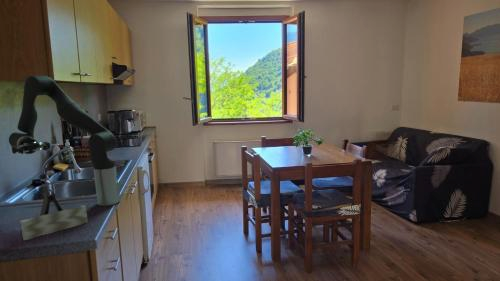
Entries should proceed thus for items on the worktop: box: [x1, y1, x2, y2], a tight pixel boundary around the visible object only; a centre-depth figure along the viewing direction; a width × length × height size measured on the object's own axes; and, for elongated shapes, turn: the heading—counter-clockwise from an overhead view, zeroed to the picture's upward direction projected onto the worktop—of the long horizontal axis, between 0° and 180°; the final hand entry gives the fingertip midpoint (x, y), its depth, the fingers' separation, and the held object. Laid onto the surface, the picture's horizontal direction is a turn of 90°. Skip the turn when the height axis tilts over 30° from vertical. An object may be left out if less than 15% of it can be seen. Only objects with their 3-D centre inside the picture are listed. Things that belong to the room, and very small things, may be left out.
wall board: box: [19, 204, 89, 241], centre depth 137 cm, size 22×14×7 cm, turn 131°
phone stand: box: [39, 188, 63, 216], centre depth 136 cm, size 9×6×12 cm, turn 130°
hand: (33, 149), depth 147 cm, fingers open, 8 cm apart
